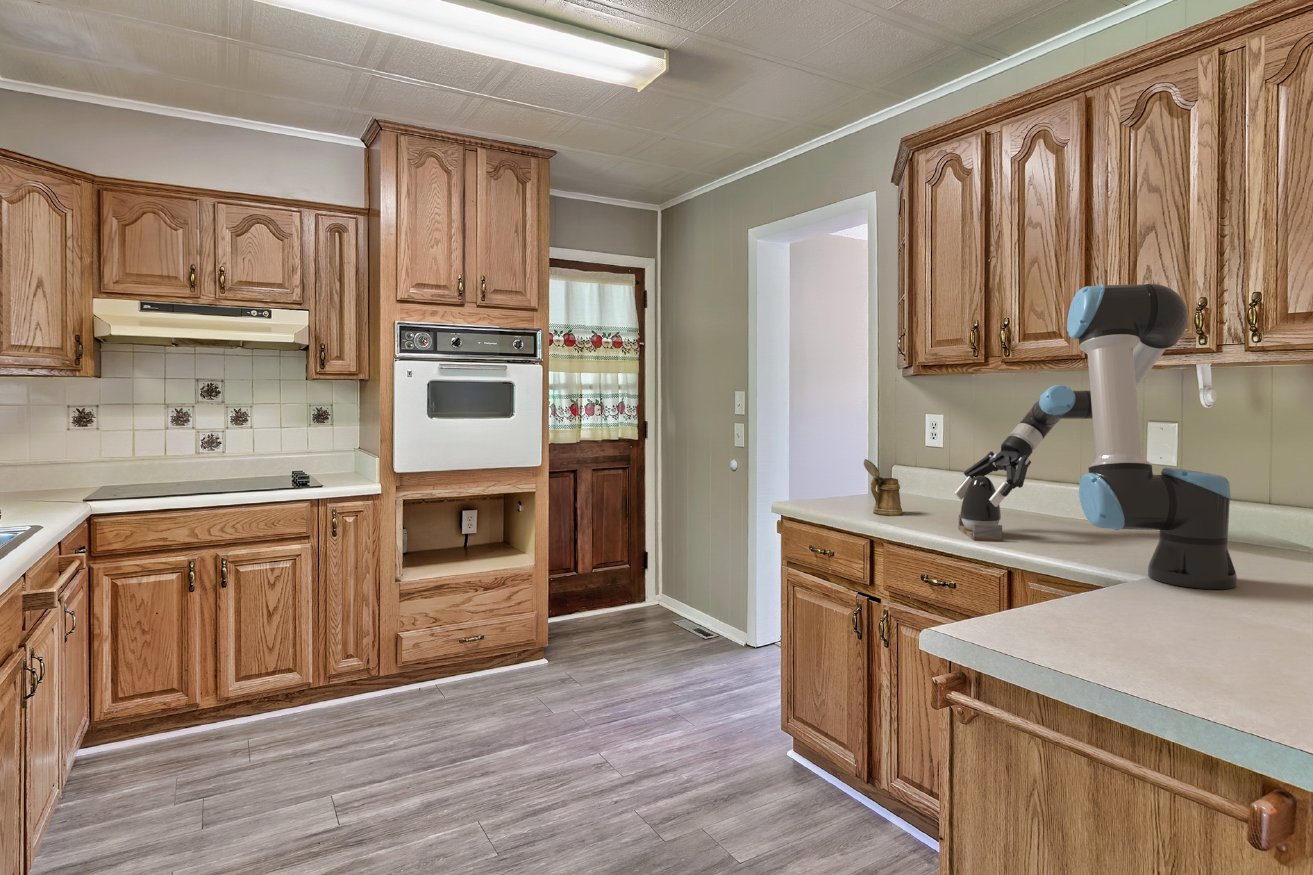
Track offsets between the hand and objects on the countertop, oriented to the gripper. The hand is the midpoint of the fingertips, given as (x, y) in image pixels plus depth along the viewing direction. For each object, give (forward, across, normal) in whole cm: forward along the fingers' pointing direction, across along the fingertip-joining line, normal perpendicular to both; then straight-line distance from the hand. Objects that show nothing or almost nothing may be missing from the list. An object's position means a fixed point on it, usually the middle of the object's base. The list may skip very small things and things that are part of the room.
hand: (974, 499), depth 205 cm
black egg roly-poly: (+5, 0, -8) cm, 9 cm away
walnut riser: (+6, 0, -8) cm, 10 cm away
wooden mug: (+10, +38, -4) cm, 39 cm away
